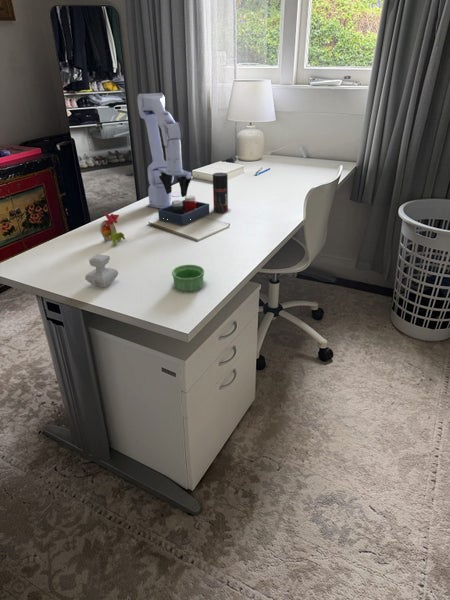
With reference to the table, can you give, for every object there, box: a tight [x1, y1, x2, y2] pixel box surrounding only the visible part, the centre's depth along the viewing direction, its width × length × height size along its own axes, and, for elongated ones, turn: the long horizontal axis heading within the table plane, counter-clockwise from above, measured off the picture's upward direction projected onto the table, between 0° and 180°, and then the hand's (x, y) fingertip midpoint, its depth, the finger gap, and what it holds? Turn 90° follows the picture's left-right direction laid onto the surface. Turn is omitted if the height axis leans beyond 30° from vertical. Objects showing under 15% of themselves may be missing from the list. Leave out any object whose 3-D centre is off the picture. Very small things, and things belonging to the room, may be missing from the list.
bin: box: [157, 199, 210, 226], centre depth 170 cm, size 12×17×4 cm
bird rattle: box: [99, 212, 126, 246], centre depth 146 cm, size 6×11×9 cm
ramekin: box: [171, 264, 205, 292], centre depth 118 cm, size 9×9×4 cm
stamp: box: [84, 253, 119, 288], centre depth 119 cm, size 9×7×8 cm
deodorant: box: [212, 172, 229, 214], centre depth 173 cm, size 6×6×15 cm
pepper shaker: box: [171, 199, 184, 215], centre depth 166 cm, size 5×5×7 cm
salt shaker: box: [184, 194, 197, 213], centre depth 172 cm, size 5×5×7 cm
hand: (176, 194), depth 163 cm, fingers open, 7 cm apart
